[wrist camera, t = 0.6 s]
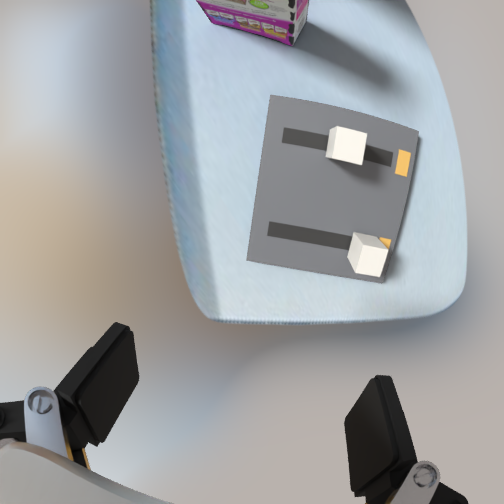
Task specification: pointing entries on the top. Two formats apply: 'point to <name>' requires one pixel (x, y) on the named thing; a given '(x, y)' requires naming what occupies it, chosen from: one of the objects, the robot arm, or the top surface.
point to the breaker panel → (327, 188)
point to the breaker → (367, 254)
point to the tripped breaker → (346, 145)
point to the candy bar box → (260, 16)
